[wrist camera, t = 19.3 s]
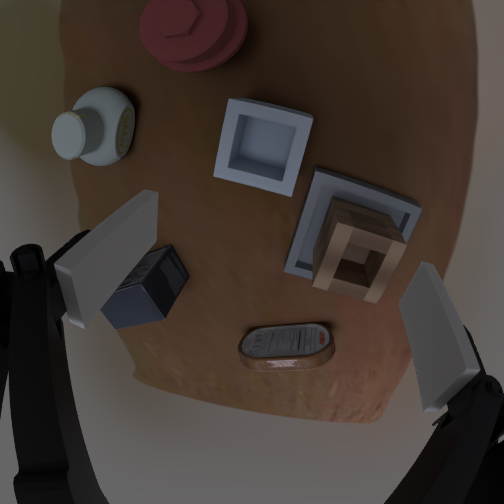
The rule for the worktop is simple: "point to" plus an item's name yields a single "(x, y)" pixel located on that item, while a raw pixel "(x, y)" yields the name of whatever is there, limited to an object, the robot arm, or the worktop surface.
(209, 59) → the mechanical component
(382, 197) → the tray
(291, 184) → the block
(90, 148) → the air freshener
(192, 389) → the worktop surface
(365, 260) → the brown open cube box
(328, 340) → the tin
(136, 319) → the small box
